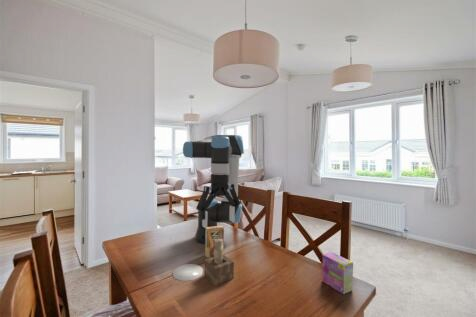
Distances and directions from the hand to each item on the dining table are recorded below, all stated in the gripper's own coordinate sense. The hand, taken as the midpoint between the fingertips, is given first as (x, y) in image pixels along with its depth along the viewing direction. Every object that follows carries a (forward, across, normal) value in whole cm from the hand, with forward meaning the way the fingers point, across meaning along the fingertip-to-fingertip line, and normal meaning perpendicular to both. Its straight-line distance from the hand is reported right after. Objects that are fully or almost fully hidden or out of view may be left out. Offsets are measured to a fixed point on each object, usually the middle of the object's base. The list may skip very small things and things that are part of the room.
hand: (218, 223), depth 94 cm
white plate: (+24, +8, -11) cm, 28 cm away
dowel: (+23, 0, 0) cm, 23 cm away
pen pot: (+24, -1, 0) cm, 24 cm away
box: (+24, -37, +32) cm, 55 cm away
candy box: (+24, -10, -18) cm, 32 cm away
